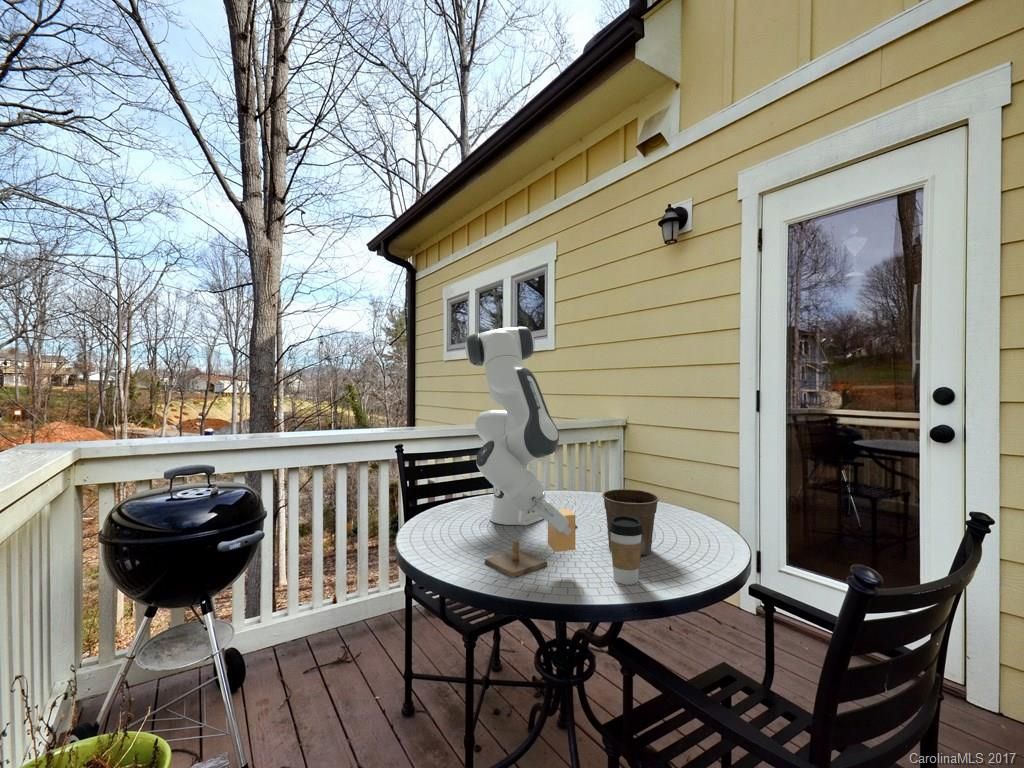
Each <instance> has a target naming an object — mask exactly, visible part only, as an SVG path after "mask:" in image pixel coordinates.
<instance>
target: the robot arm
mask: <svg viewBox="0 0 1024 768" xmlns="http://www.w3.org/2000/svg"><path fill="white" fill-rule="evenodd" d="M535 347H536V341H535V337H534V335H533V333H532V331H531V329H529V327H528V326H527V327H526V326H517V327H504V328H503V327H502V328H497V329H493V330H487V331H482V332H480V333H479V332H475V333H472V334H470V335H469V336H468V337H467V339H466V342H465V347H464V349H465V351H464V352H465V355H466V357H467V360H468V361H469V363H470V364H471V365H473V366H477V367H482V366H484V371H485V377H486V382H487V384H488V391H489V396H490V399H491V401H493V402H494V403H496V404H497V405H499V406H501V407H502V408H503V409H491V410H486V411H481V412H480V413H479V414H478V415H477V417H476V419H475V423H474V427H475V432H476V434H477V435H478V437H480V439H482V440H483V441H484V442H485V444H483V446H481V448H480V449H479V451H478V452H477V455H476V459H475V463H476V466H477V468H478V470H479V471H480V473H481V474H482V475H483V477H485V479H486V480H487V481H488V482H489V483H490V484H491V485H492V492H493V500H492V506H491V507H492V508H491V512H490V517H489V521H491V522H492V523H495V524H499V525H507V526H510V525H511V526H516V525H517V526H529V525H531V524H534V523H536V522H539V521H541V520H545V522H546V523H547V524H548V523H549V524H550V525H551V526H552V527H553V528H554V529H556V530H557V531H558V532H560V533H561V532H562V531H563V532H564V533H565V534H566V535H569V534H570V532H571V529H570V528H569V527H568V526H567V525H568V524H569V521H568V520H567V518H566V517H565V516H563V515H562V514H561V513H560V512H559V511H558V509H557V507H555V506H554V505H553V504H552V503H551V502H549V501H548V500H547V499H546V492H545V484H544V483H543V482H542V481H540V479H538V477H536V476H535V475H534V473H532V472H531V471H530V470H528V468H527V467H528V465H529V464H532V463H533V462H535V461H537V460H539V459H542V458H544V457H547V456H550V455H552V454H554V453H555V452H556V451H557V450H558V446H559V443H560V442H559V441H560V433H559V431H558V428H557V426H556V424H555V423H554V420H553V419H552V417H551V415H550V412H549V410H548V407H547V404H546V402H545V399H544V396H543V393H542V390H541V387H540V385H539V383H538V381H537V378H536V376H535V374H533V372H532V371H531V370H530V369H528V368H526V367H525V366H524V362H523V361H524V360H527V359H529V358H531V357H532V355H533V354H534V351H535Z"/></svg>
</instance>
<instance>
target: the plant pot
mask: <svg viewBox="0 0 1024 768" xmlns="http://www.w3.org/2000/svg"><path fill="white" fill-rule="evenodd" d="M602 498H603V505H604V509H605V514H606V517H605V518H606V524H607V538H608V549H609V551H611V541H610V538H611V532H610V531H609V526H610V525H611V519H612V518H613V517H616V516H630V517H634V518H636V519H638V520H639V521H640V522H641V525H642V528H643V534H642V535H641V540H642V545H641V555H640V557H642V556H644V557H646V556H648V555H650V554H651V553H652V545H653V536H654V525H655V524H654V523H655V516H656V514H657V508H658V502H659V501H660V497H659V496H658V495H657V494H655V493H653V492H648V491H645V490H640V489H631V488H630V489H625V488H621V489H620V488H619V489H609V490H607V491H604V492H603V493H602Z"/></svg>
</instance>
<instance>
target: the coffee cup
mask: <svg viewBox="0 0 1024 768" xmlns="http://www.w3.org/2000/svg"><path fill="white" fill-rule="evenodd" d="M609 531H610V532H611V538H610V541H611V550H610V551H611V560H612V561H611V562H612V570H613V573H612V574H613V580H614V581H615V582H617V584H620V583H621V584H620V585H625V584H626V585H627V586H631V585H635V583H636V584H637V583H638V582H639V574H640V573H639V570H640V564H641V563H640V562H641V561H640V560H641V556H642V555H641V545H642V540H641V535H642V534H643V528H642V525H641V522H640V521H639V520H638V519H636V518H634V517H630V516H616V517H613V518H612V519H611V525H610V526H609ZM640 555H641V556H640Z"/></svg>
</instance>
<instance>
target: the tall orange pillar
mask: <svg viewBox="0 0 1024 768" xmlns="http://www.w3.org/2000/svg"><path fill="white" fill-rule="evenodd" d="M557 510H558V511H559V512H560V513H561V514H562V515H563V516H565V517H566V518H567V520H568V521H569V524H568V525H567V526H568V527H569V528H570V529H571V532H570V534H569V535H566V534H565V533H564V532H563V531H562V532H561V533H560V532H558V531H557V530H556V529H554V528H553V527H552V526H551V525H550V524H549V523H548V522H547V545H548V546H549V548H551V549H552V551H554V552H555V553H557V552H567V551H574V550H576V514H575V513H574V512H573V511H572V510H570V509H568V508H561V509H557Z"/></svg>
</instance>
